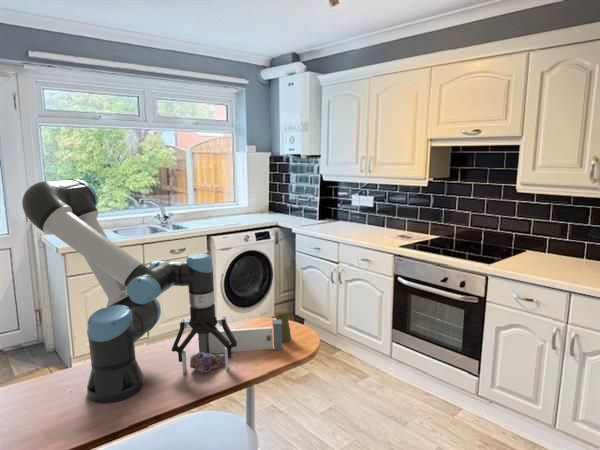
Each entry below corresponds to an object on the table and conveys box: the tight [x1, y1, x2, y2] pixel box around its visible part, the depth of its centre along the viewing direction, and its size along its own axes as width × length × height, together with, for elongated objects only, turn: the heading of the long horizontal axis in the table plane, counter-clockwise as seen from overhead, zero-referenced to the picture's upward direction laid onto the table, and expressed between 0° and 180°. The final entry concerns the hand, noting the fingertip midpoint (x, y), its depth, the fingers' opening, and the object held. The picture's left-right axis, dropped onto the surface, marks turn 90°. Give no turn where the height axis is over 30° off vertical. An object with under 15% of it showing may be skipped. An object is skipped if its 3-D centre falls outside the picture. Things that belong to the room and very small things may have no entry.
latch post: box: [271, 319, 283, 352], centre depth 146 cm, size 3×4×10 cm
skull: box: [189, 352, 225, 373], centre depth 133 cm, size 12×8×6 cm, turn 123°
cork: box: [274, 309, 292, 344], centre depth 153 cm, size 6×6×11 cm
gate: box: [206, 326, 274, 354], centre depth 144 cm, size 22×2×8 cm, turn 97°
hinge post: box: [197, 334, 207, 353], centre depth 142 cm, size 3×4×10 cm
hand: (206, 369), depth 133 cm, fingers open, 12 cm apart
